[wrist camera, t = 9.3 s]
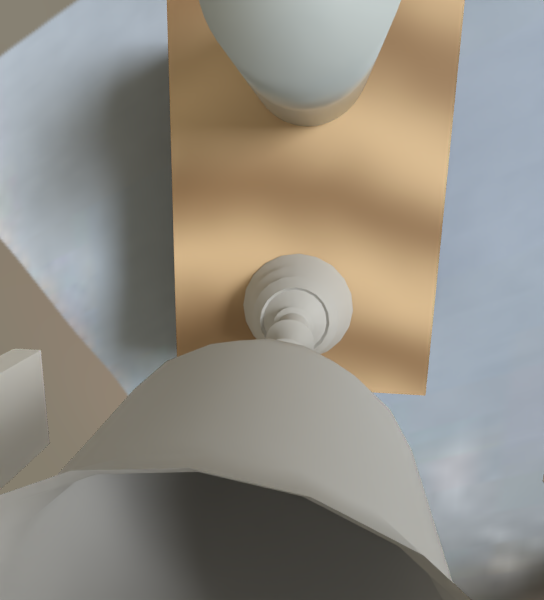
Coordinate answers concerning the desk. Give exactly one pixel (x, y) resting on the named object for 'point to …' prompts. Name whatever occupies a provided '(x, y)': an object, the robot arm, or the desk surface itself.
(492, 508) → the desk surface
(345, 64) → the white glossy rounded part
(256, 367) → the chalice
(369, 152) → the shelf
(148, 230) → the desk surface
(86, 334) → the desk surface
